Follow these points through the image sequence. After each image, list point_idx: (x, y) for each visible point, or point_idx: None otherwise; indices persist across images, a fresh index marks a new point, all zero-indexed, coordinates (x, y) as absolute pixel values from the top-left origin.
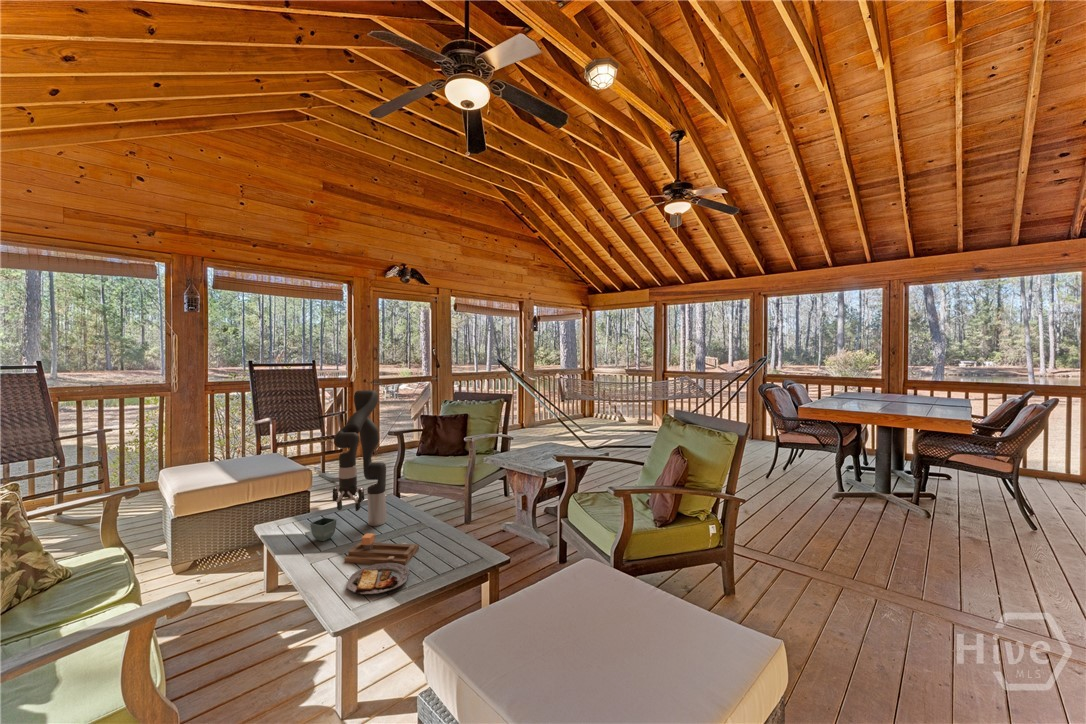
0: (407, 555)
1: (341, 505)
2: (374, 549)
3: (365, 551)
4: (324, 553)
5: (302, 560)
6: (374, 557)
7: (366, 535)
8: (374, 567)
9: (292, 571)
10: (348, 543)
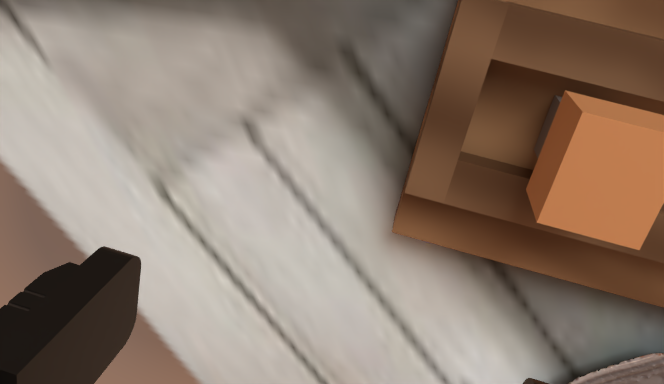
0: None
1: (89, 319)
2: None
3: None
4: (176, 31)
5: (75, 129)
6: (645, 271)
7: (589, 175)
8: (648, 378)
9: None
10: None
